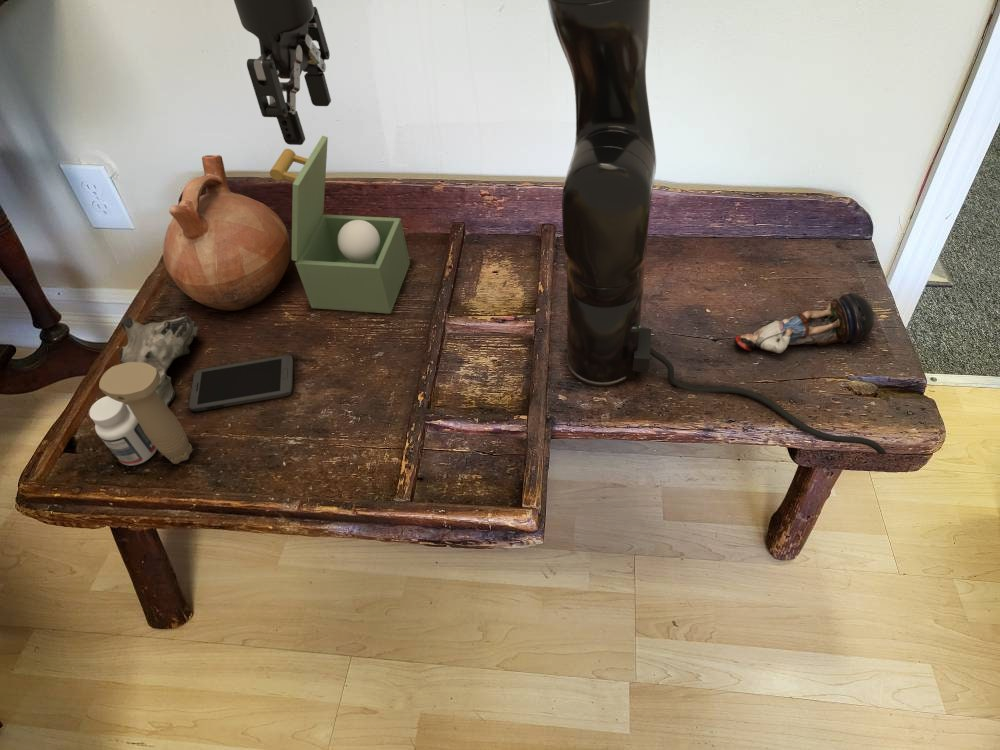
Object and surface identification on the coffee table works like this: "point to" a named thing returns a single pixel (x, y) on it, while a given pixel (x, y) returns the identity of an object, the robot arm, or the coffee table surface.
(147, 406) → the handle
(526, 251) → the coffee table surface
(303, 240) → the chest lid
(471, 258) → the coffee table surface
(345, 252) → the lightbulb
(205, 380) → the cell phone
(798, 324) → the figurine
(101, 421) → the pill bottle
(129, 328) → the decorative stone
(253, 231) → the jug
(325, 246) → the chest
